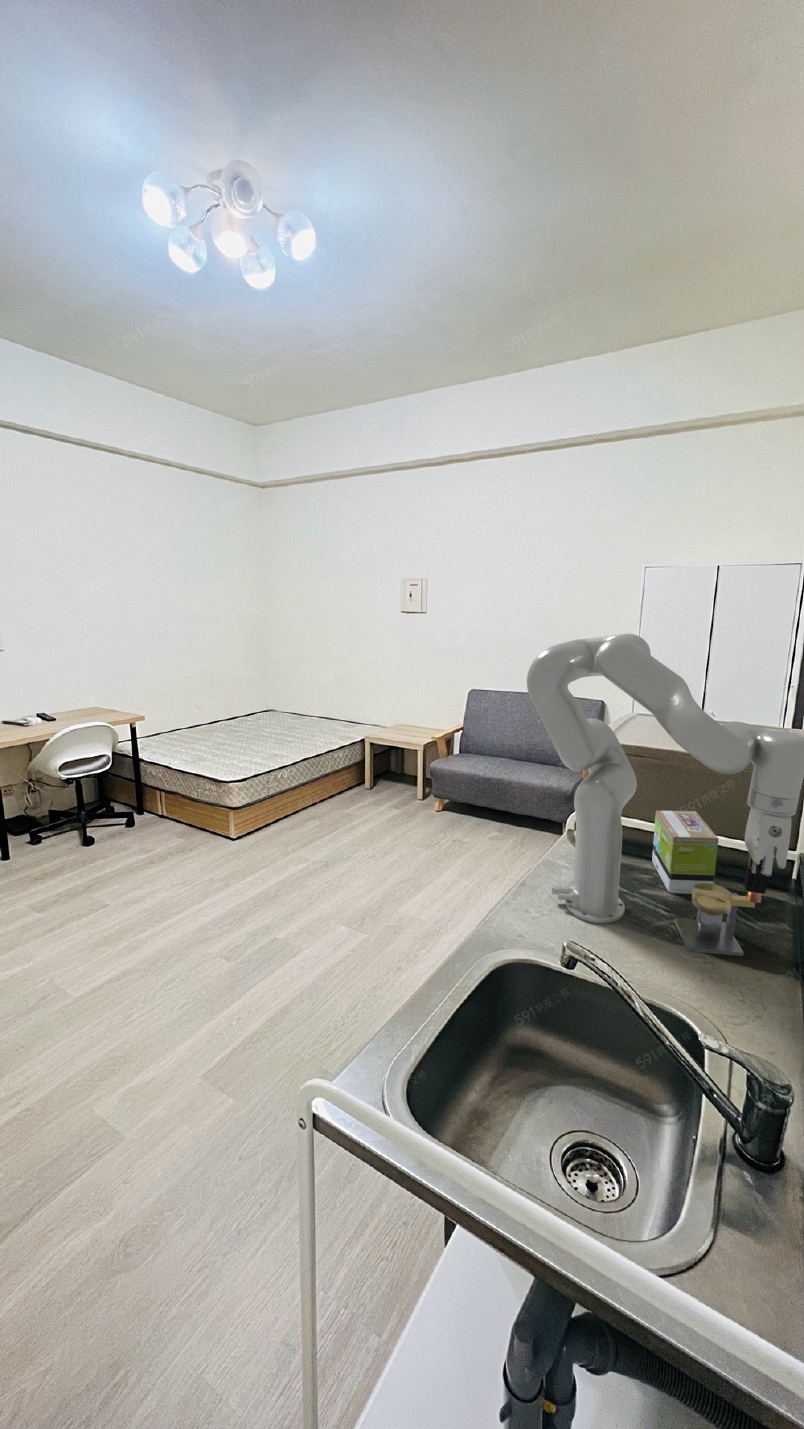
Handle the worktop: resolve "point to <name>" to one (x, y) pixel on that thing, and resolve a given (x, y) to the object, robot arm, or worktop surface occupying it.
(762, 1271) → the worktop surface
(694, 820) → the tea box
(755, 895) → the crank with handle
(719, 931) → the grey crank stand
